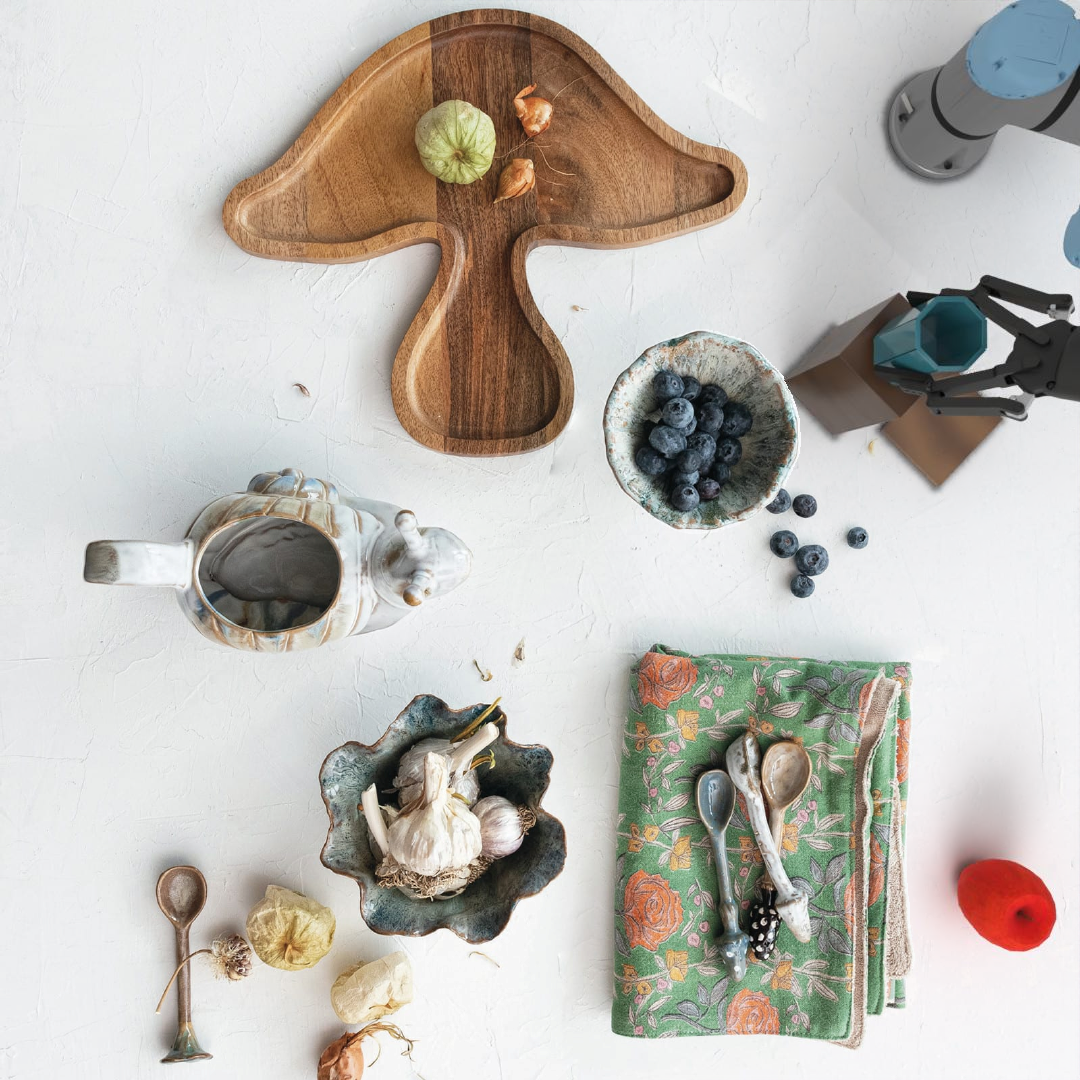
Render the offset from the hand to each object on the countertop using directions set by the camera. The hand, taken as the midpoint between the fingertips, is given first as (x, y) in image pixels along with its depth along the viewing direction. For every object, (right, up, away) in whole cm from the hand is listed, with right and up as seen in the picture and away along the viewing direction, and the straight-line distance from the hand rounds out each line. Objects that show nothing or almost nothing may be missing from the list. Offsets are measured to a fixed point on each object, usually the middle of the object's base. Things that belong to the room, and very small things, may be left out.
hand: (893, 335), depth 100 cm
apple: (+24, -76, +27) cm, 84 cm away
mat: (+18, -7, +26) cm, 32 cm away
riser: (+1, -1, +24) cm, 24 cm away
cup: (+3, -1, +3) cm, 4 cm away
